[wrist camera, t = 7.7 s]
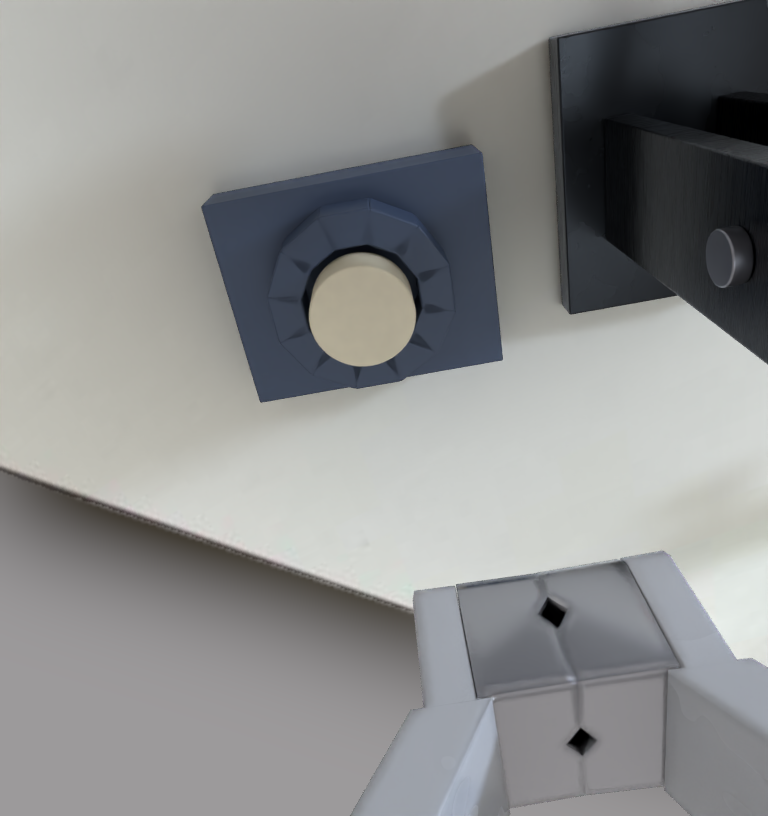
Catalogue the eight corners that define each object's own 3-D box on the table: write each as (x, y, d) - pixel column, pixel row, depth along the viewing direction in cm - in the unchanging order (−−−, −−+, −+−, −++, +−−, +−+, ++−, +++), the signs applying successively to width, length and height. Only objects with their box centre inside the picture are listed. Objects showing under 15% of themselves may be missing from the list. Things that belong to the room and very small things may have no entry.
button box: (212, 194, 25) (189, 217, 22) (472, 144, 25) (491, 159, 21) (266, 379, 29) (254, 425, 26) (493, 339, 29) (512, 380, 25)
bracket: (548, 37, 23) (727, 28, 12) (780, -9, 23) (1190, -62, 12) (561, 305, 28) (699, 478, 17) (753, 270, 28) (1027, 424, 16)
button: (301, 261, 23) (297, 276, 22) (403, 242, 23) (407, 256, 21) (323, 355, 25) (321, 375, 23) (419, 338, 25) (423, 357, 23)
